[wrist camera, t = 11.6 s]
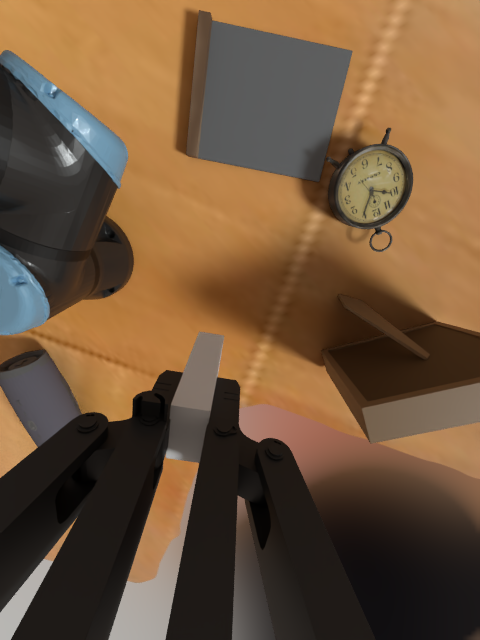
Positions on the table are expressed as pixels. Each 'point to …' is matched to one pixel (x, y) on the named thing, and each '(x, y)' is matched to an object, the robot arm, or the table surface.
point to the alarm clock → (370, 187)
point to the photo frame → (407, 376)
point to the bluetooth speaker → (38, 394)
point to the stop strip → (199, 82)
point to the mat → (270, 101)
